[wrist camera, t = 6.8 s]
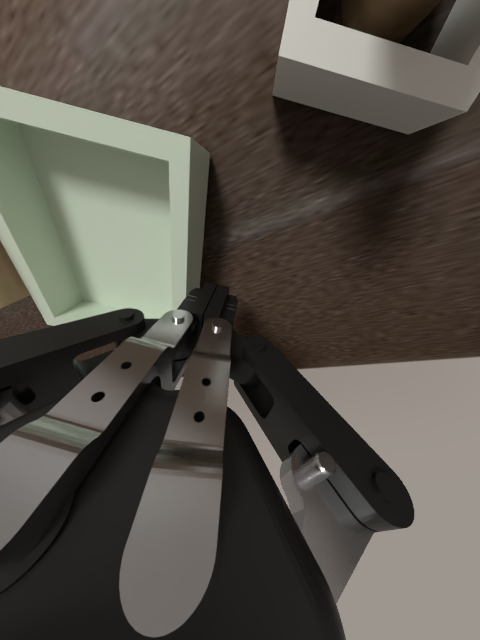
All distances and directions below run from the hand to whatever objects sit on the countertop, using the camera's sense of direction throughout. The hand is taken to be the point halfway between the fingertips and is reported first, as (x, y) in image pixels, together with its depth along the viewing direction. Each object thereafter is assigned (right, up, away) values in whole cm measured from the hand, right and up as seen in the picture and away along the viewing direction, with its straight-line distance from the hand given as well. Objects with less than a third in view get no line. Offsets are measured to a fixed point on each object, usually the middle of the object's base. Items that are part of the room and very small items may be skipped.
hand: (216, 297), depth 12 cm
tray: (-8, +5, +3) cm, 10 cm away
